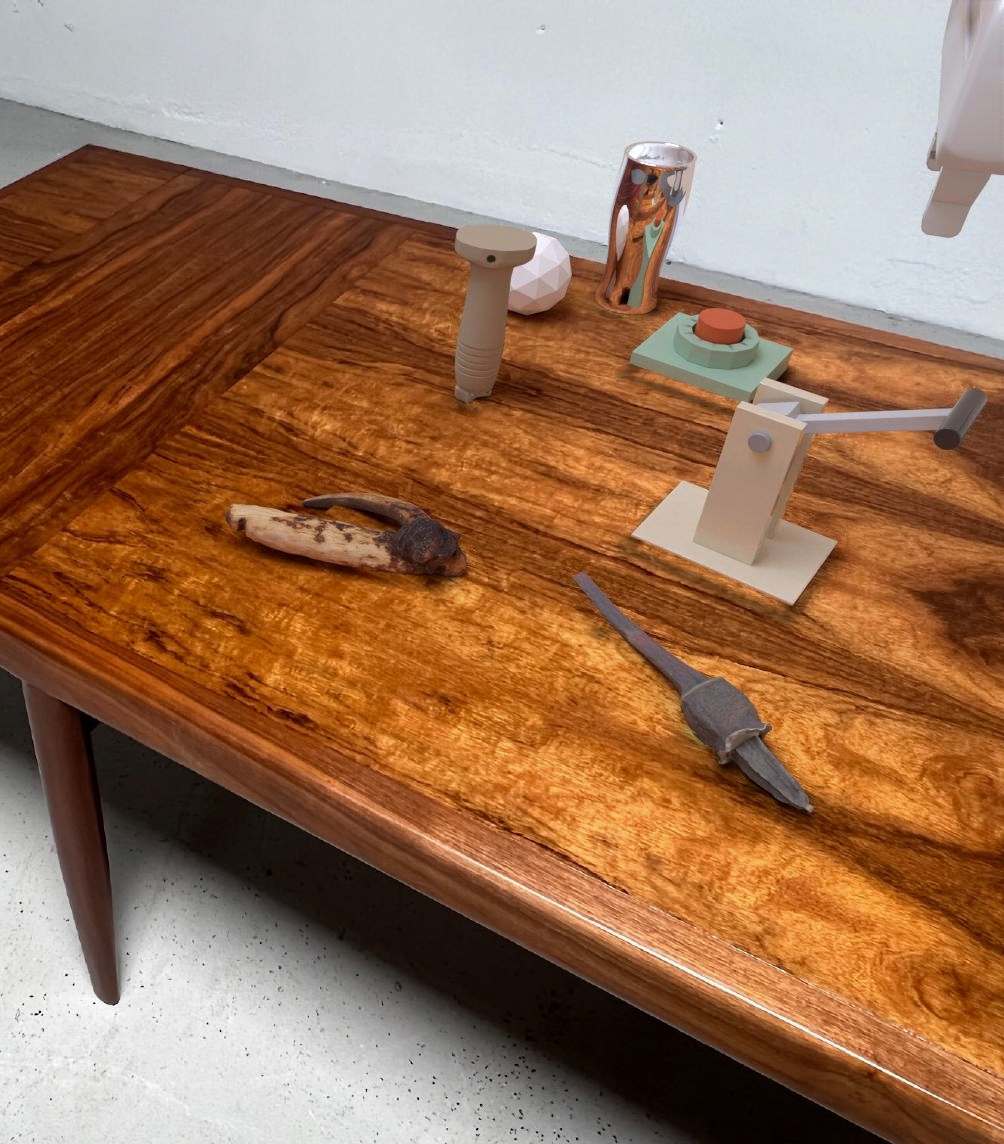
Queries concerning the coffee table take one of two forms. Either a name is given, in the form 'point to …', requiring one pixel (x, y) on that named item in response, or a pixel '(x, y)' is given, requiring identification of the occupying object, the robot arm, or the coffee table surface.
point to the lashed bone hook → (357, 535)
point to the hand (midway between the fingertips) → (939, 197)
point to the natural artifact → (710, 708)
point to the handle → (486, 302)
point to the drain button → (720, 326)
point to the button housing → (712, 359)
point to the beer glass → (644, 223)
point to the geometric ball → (540, 278)
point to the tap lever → (895, 419)
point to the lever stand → (749, 503)
